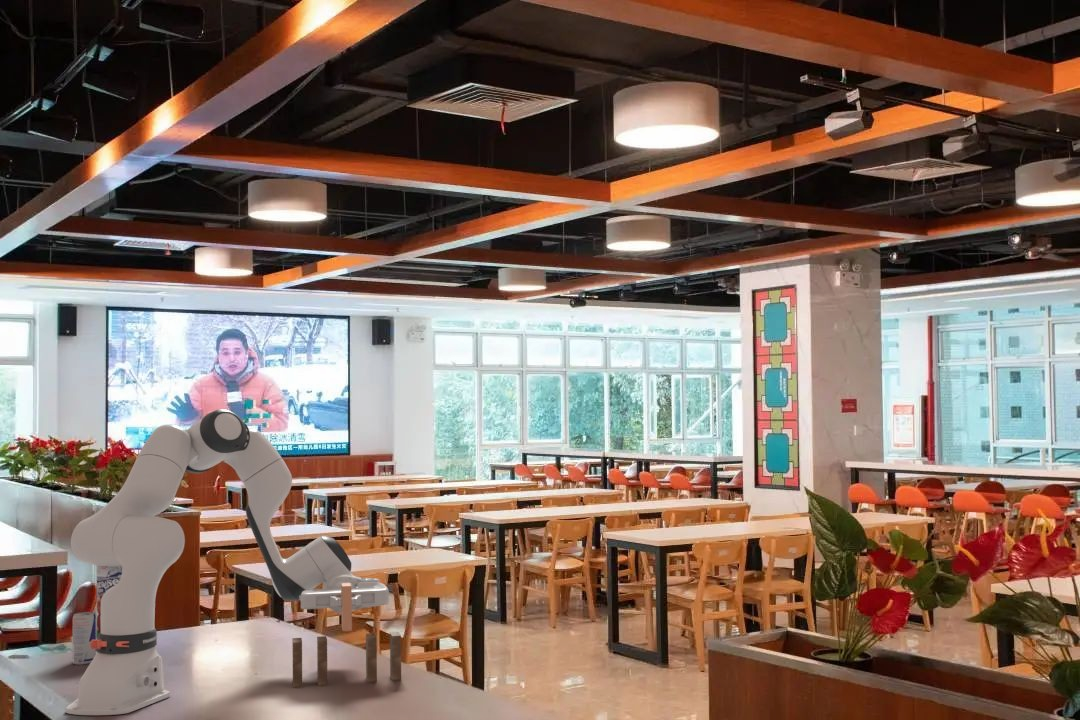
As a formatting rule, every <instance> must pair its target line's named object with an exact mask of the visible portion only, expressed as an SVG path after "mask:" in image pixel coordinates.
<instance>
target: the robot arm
mask: <svg viewBox="0 0 1080 720" xmlns="http://www.w3.org/2000/svg"><path fill="white" fill-rule="evenodd" d="M222 462H223V463H225V464H227V465H228V466H230V467H232V468H233V469H234V471H235V473H236V475H237V476H238V478H239V480H240V481H241V482H242V484H243V486H244V487H245V489H246V493H247V498H248V499H247V500H248V503H247V505H246V506H245V513H246V514H245V515H246V519H247V523H248V524H249V526H250V529H251V531H252V532H251V533H252V534H253V536H254V540H255V541H256V543H257V545H258V549H259V551H260V553H261V555H262V558H263V560H264V562H265V565H266V566H267V567H266V568H267V569H268V572H269V576H270V579H271V584H272V586H273V588H274V591H275V592H276V594H277V595H278V596H279V597H280V598H282V600H283V601H289V602H300V609H301V610H316V609H317V610H319V609H330V611H333V612H335V613H338V614H341V607H342V598H341V583H350V584H351V586H352V612H354V611H357V610H360V609H366V608H374V607H378V606H386V605H389V602H390V597H389V596H390V592H389V588H388V587H387V585H385V584H384V583H382V582H381V581H380V579H379V578H373V577H359V576H356V575H354V574H353V573H352V572H351V571H352V561H351V559H350V557H349V556H348V554H347V553H346V551H345V549H344V548H343V546H342V545H341V544H340V543H339V542H338V541H337V540H336V539H335V538H334V537H330V536H327V535H321V536H318V537H317V538H316V539H315V538H314V540H313V541H310V542H309V543H307V545H305V546H304V547H302V548H301V549H300V550H298V551H297V552H295V553H293V554H292V555H291V556H289V557H288V558H283V557H282V556H281V555H282V554H281V553H280V550H279V548H278V545H277V543H276V541H275V539H274V536H273V533H272V532H271V522H272V520H273V517H274V516H275V514H276V512H277V511H278V509H279V508H280V507H281V506H282V504H283V503H284V501H285V500H286V498H287V497H288V495H289V494H290V491H291V488H292V484H293V475H292V473H291V471H290V469H289V468H288V466H287V464H286V461H284V459H283V457H282V456H281V455H280V453H279V452H278V450H277V449H276V448H275V447H274V445H273V444H272V442H271V441H270V440H268V438H267V437H266V436H265V435H264V434H262V432H261V431H259V430H258V429H256V428H249V427H248V425H247V424H246V423H245V422H244V421H243V420H242V418H241V417H240V416H239V415H237V413H235V412H233V411H231V410H228V409H225V408H223V409H222V408H221V409H216V410H213V411H210V412H209V413H206V415H205V416H203V417H202V418H200V419H199V420H198V421H197V422H195V423H194V424H192V425H191V426H190V427H189V428H187V429H184V428H183V427H180V426H178V425H174V424H163V425H160V426H157V427H156V428H155V429H154V430H153V431H152V433H151V434H150V435H149V436H148V438H147V439H146V441H145V443H144V444H143V446H142V447H141V449H140V451H139V453H138V455H137V457H136V459H135V462H134V464H133V466H132V468H131V469H130V472H129V474H128V475H127V478H126V479H125V481H124V483H123V485H122V487H121V488H120V489H119V491H118V492H117V493H116V494H115V496H114V497H112V499H111V500H110V501H109V502H108V503H107V504H106V505H104V507H102V508H101V509H100V510H98V511H97V512H96V513H94V514H92V515H91V516H88V517H87V518H85V519H83V520H81V521H79V523H78V524H77V525H76V526H75V527H74V529H73V531H72V534H71V537H70V547H71V552H72V553H73V556H74V557H75V559H76V560H78V561H79V562H81V563H85V564H88V565H92V566H95V567H97V566H114V567H122V575H121V578H120V581H119V582H118V584H116V585H115V586H113V587H111V588H110V589H108V590H107V591H106V592H105V593H104V595H103V596H102V599H101V632H100V633H99V635H98V639H97V638H96V639H92V640H91V641H92V642H91V643H90V647H92V648H91V649H96V655H95V657H94V658H93V660H92V662H91V663H90V664H88V666H87V668H86V670H85V672H84V673H83V675H82V676H81V678H80V680H79V682H78V687H77V688H78V689H77V698H76V699H75V700H74V701H73V702H71V703H70V704H69V705H68V706H66V707H65V709H64V710H65V714H66V713H67V714H69V715H78V716H112V715H123V714H124V715H125V714H129V713H132V712H134V711H137V710H139V709H141V708H144V707H147V706H149V705H151V704H155V703H157V702H160V701H162V700H165V699H168V698H170V697H171V695H170V693H171V692H170V691H169V690H167V689H166V688H165V680H164V679H165V678H164V666H163V657H162V656H161V655H160V654H159V653H158V651H157V648H156V646H157V644H158V634H157V633H158V632H157V629H156V628H155V622H156V621H155V614H156V611H155V610H156V609H155V608H156V598H157V597H156V596H157V591H158V588H159V585H160V582H161V580H162V578H163V577H164V574H165V573H166V572H167V570H168V569H169V568H170V567H171V566H172V565H173V564H175V563H176V562H177V560H179V559H180V557H181V555H182V554H183V552H184V549H185V546H186V545H185V543H186V539H185V538H186V537H185V533H184V530H183V528H182V526H181V525H180V523H179V522H177V521H176V520H173V519H168V518H164V517H160V516H157V515H159V514H160V513H162V512H164V511H166V510H167V509H168V508H170V506H171V505H172V504H173V501H174V499H175V497H176V494H177V492H178V489H179V487H180V484H181V482H182V481H183V479H184V478H183V477H184V476H185V473H190V474H196V475H197V474H202V473H205V472H208V471H210V470H211V469H212V468H213V467H214V466H216V465H218V464H220V463H222ZM321 584H322V588H316V587H318V586H319V585H321Z"/></svg>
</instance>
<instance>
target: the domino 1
mask: <svg viewBox="0 0 1080 720" xmlns="http://www.w3.org/2000/svg"><path fill="white" fill-rule="evenodd" d="M302 639H303V638H302V637H294V638H292V642H291V643H292V688H293V689H296V688H297V689H298V688H303V640H302Z"/></svg>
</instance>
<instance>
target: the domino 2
mask: <svg viewBox="0 0 1080 720" xmlns="http://www.w3.org/2000/svg"><path fill="white" fill-rule="evenodd" d="M316 637H317V638H316V639H317V640H316V645H317V646H316V647H317V650H316V657H317V658H316V659H317V661H316V662H317V663H316V666H317V670H316V673H317V676H316V677H317V686H318V687H323V686H325V687H327V686H328V638H327V636H326V635H325V636H316Z"/></svg>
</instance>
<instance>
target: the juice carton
mask: <svg viewBox="0 0 1080 720" xmlns="http://www.w3.org/2000/svg"><path fill="white" fill-rule="evenodd" d="M121 575H122V567H114V566H96V640H97V639H98V635H99V633H100V632H101V599H102V596H103V595H104V593H105V592H106V591H107V590H108V589H110V588H111V587H113V586H115V585H116V584H118V582H119V581H120V578H121Z"/></svg>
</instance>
